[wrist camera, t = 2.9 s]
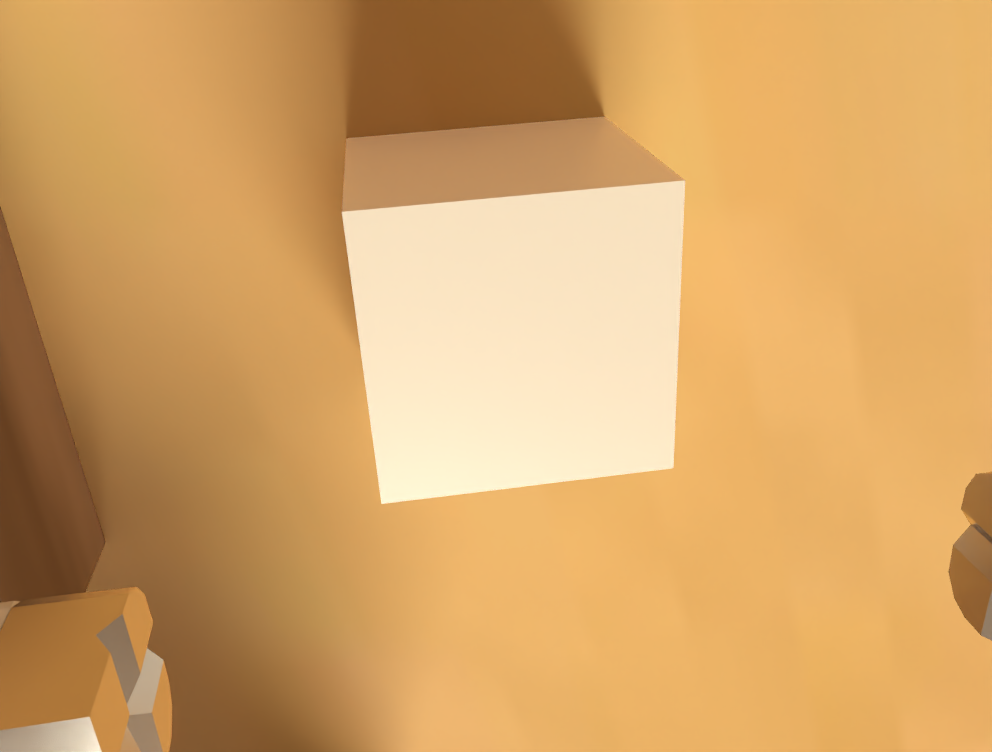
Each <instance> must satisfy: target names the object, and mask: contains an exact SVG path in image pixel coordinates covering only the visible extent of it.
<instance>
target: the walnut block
mask: <svg viewBox="0 0 992 752" xmlns="http://www.w3.org/2000/svg"><path fill="white" fill-rule="evenodd" d="M104 545H105V539H104V536H103V533H102V530H101V526H100V523H99V520H98V517H97V514H96V510H95V507H94V504H93V501H92V498H91V494H90V491H89V488H88V485H87V482H86V479H85V475H84V472H83V469H82V466H81V463H80V459H79V456H78V453H77V450H76V447H75V443H74V440H73V437H72V434H71V431H70V427H69V424H68V421H67V418H66V415H65V411H64V408H63V405H62V402H61V399H60V396H59V392H58V389H57V386H56V383H55V380H54V376H53V373H52V370H51V367H50V364H49V360H48V357H47V354H46V351H45V348H44V344H43V341H42V338H41V335H40V332H39V329H38V325H37V322H36V319H35V316H34V313H33V309H32V306H31V303H30V300H29V297H28V293H27V290H26V287H25V284H24V281H23V277H22V274H21V271H20V268H19V265H18V261H17V258H16V255H15V252H14V249H13V246H12V242H11V239H10V236H9V233H8V230H7V226H6V223H5V220H4V217H3V214H2V210H1V207H0V603H1V602H9V601H22V600H24V599H33V598H41V597H50V596H59V595H67V594H76V593H85V591H86V588H87V586H88V584H89V581H90V579H91V576H92V574H93V571H94V569H95V567H96V564H97V562H98V559H99V557H100V555H101V552H102V550H103V547H104Z"/></svg>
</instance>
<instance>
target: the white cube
mask: <svg viewBox="0 0 992 752" xmlns="http://www.w3.org/2000/svg"><path fill="white" fill-rule="evenodd" d="M684 195H685V180H684V179H683V178H681V177H680V176H679V175H678V174H676V173H675V172H674V171H673V170H671V169H670V168H669V167H668V166H666V165H665V164H664V163H663V162H661V161H660V160H659V159H657V158H656V157H655V156H654V155H652V154H651V153H650V152H649V151H647V150H646V149H645V148H644V147H642V146H641V145H640V144H639V143H637V142H636V141H635V140H634V139H632V138H631V137H630V136H628V135H627V134H626V133H625V132H623V131H622V130H621V129H620V128H618V127H617V126H616V125H615V124H613V123H612V122H611V121H610V120H608V119H607V118H606V117H605V116H604V117H592V118H580V119H568V120H556V121H544V122H532V123H520V124H509V125H497V126H485V127H473V128H461V129H449V130H437V131H426V132H414V133H402V134H390V135H378V136H366V137H354V138H346V152H345V168H344V184H343V200H342V217H343V225H344V232H345V239H346V247H347V254H348V261H349V269H350V276H351V283H352V291H353V298H354V305H355V313H356V320H357V327H358V335H359V342H360V349H361V357H362V364H363V371H364V379H365V386H366V393H367V401H368V408H369V415H370V423H371V430H372V437H373V445H374V452H375V459H376V467H377V474H378V481H379V489H380V496H381V503H382V504H384V503H393V502H401V501H409V500H417V499H425V498H433V497H442V496H450V495H458V494H466V493H474V492H482V491H491V490H499V489H507V488H515V487H523V486H531V485H540V484H548V483H556V482H564V481H572V480H580V479H589V478H597V477H605V476H613V475H621V474H629V473H638V472H646V471H654V470H662V469H670V468H673V465H674V440H675V416H676V391H677V367H678V342H679V318H680V293H681V269H682V244H683V220H684Z"/></svg>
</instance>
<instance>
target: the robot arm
mask: <svg viewBox="0 0 992 752" xmlns="http://www.w3.org/2000/svg"><path fill="white" fill-rule="evenodd" d="M961 510H962V511H963V513H964V515H965V516H966V518H967V519H968V521H969V523H970V524H971V525H970V526H969V527H968V529H967V530H966V531H965V532H964V533H963V534H962V535H961V537H960V538H959V539H958V540H957V541H956V542H955V543H954V545H953V549H952V555H951V561H950V567H949V576H950V581H951V585H952V590H953V595H954V599H955V600H956V602H957V604H958V606H959V608H960V610H961V611H962V613H963V615H964V617H965V618H966V619H967V620H968V622H969V623H970V624H971V625H972V626H973V627H974V628H975V629H976V630H977V632H978V633H979V634H980V635H981V636H984V637H986V638H988V639H990V640H992V472H987V473H980V474H976V475H975V476H974V478H973V479H972V480H971V482H970V483H969V484H968V486H967V487H966V490H965V494H964V498H963V503H962V507H961ZM152 626H153V619H152V616H151V613H150V610H149V607H148V603H147V600H146V597H145V594H144V593H143V592H142V591H141V590H140V589H138V588H137V587H129V588H120V589H111V590H102V591H94V592H85V593H76V594H67V595H59V596H50V597H41V598H33V599H24V600H22V601H9V602H1V603H0V752H169V749H170V744H171V737H172V700H171V692H170V684H169V679H168V675H167V671H166V667H165V663H164V660H163V659H162V658H160V657H159V656H158V655H156V654H155V653H153V652H152V651H151V650H149V649H148V648H147V646H148V642H149V638H150V634H151V630H152Z"/></svg>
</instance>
